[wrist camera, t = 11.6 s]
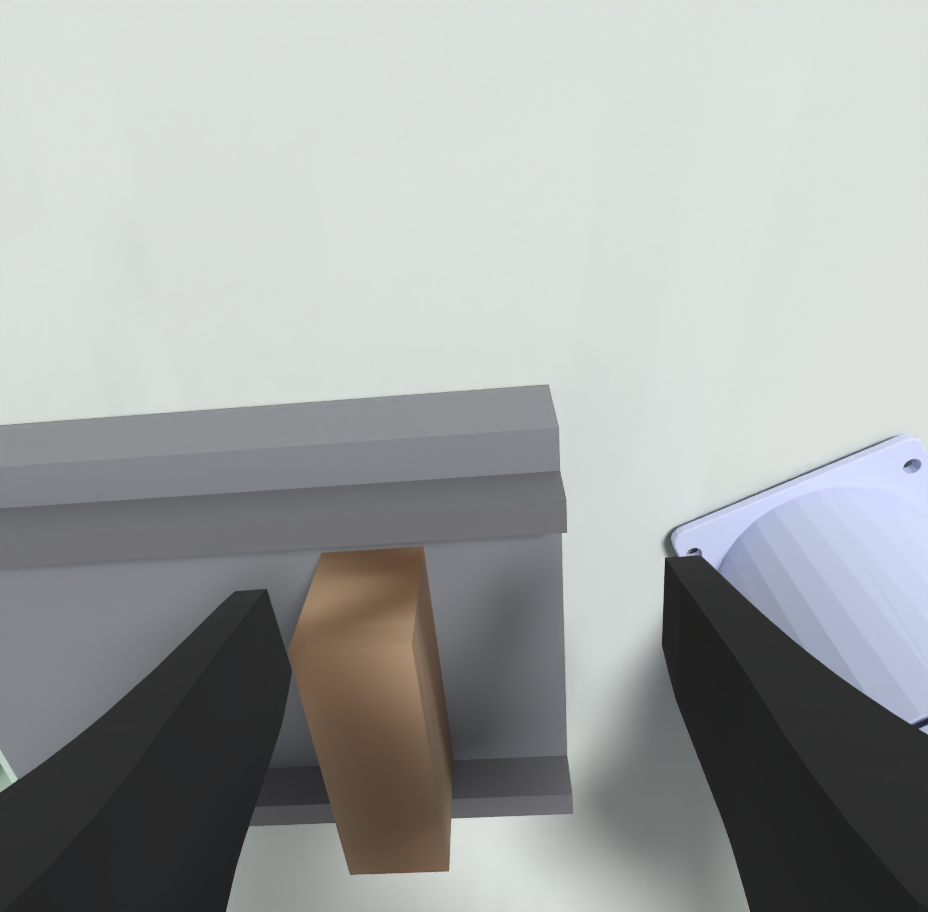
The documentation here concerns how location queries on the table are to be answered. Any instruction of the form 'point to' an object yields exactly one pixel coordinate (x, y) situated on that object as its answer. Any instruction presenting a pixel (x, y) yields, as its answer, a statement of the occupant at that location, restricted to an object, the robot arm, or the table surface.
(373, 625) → the bar
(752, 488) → the table surface
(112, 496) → the channel board
